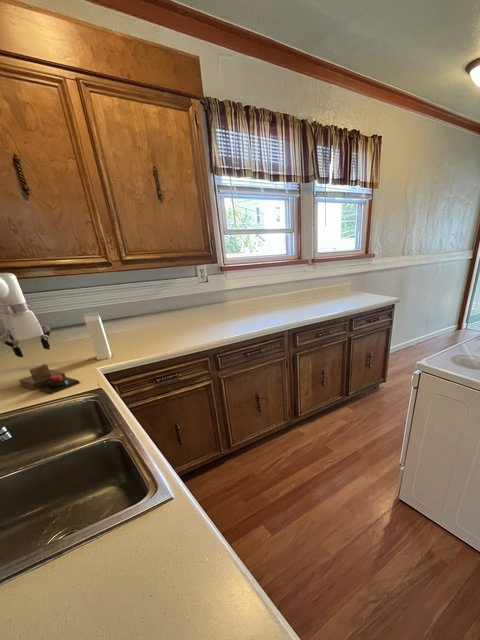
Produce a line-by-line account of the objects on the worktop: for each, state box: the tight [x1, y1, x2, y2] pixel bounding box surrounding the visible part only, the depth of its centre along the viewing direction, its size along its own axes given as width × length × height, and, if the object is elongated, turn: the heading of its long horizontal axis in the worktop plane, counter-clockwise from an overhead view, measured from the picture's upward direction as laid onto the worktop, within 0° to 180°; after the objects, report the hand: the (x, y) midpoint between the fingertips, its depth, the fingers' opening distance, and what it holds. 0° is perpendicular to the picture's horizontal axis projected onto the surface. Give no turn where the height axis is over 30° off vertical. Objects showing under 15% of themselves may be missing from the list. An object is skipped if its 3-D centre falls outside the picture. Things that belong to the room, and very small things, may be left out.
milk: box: [83, 311, 112, 361], centre depth 156 cm, size 6×6×22 cm
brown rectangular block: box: [28, 363, 51, 379], centre depth 131 cm, size 6×2×4 cm, turn 154°
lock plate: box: [18, 369, 67, 391], centre depth 133 cm, size 12×10×3 cm
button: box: [50, 375, 63, 382], centre depth 128 cm, size 4×4×2 cm
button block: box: [38, 375, 80, 395], centre depth 129 cm, size 11×8×4 cm
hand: (34, 352), depth 128 cm, fingers open, 9 cm apart
